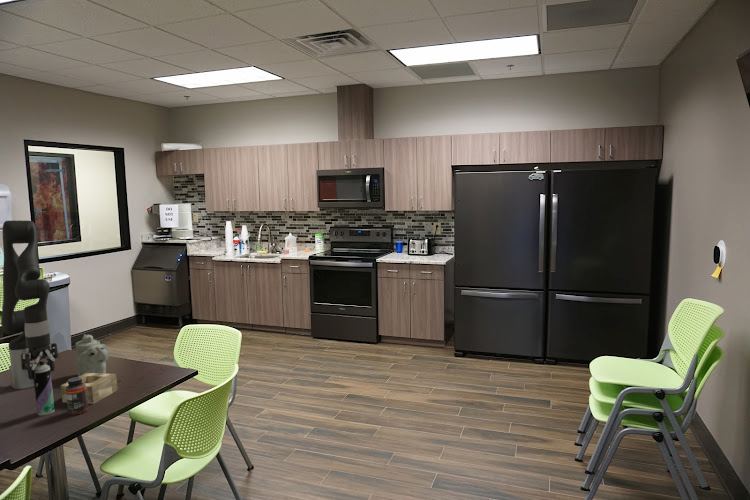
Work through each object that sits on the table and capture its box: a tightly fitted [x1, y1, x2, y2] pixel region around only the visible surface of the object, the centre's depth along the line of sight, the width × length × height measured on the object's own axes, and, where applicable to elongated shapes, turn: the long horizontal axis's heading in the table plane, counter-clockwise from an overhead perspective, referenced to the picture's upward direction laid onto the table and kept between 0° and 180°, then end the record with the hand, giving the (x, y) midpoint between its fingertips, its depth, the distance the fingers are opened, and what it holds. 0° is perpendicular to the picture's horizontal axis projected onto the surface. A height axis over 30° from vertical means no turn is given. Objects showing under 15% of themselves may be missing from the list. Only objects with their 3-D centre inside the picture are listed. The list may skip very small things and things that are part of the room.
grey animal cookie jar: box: [74, 334, 110, 377], centre depth 229 cm, size 16×15×19 cm
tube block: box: [60, 373, 118, 405], centre depth 207 cm, size 14×14×7 cm
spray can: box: [33, 360, 55, 416], centre depth 191 cm, size 6×6×20 cm
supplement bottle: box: [66, 376, 89, 416], centre depth 191 cm, size 7×7×13 cm
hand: (42, 375), depth 191 cm, fingers open, 8 cm apart
